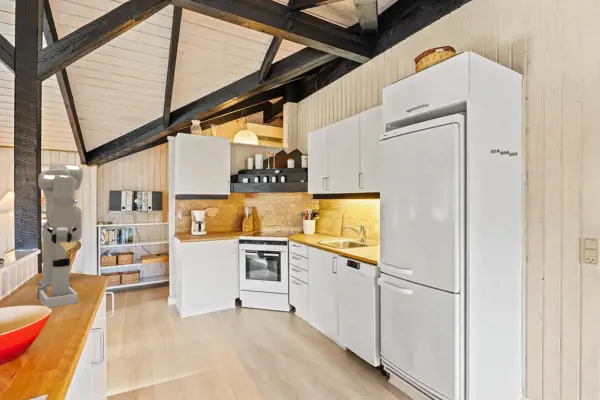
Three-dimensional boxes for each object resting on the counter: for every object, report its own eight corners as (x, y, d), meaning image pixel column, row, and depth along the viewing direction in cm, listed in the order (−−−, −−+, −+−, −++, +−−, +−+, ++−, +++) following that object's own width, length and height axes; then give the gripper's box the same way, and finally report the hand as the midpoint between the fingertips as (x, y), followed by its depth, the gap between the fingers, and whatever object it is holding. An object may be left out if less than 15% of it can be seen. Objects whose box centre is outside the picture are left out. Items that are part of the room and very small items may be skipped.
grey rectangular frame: (38, 298, 141) (38, 288, 141) (71, 292, 150) (71, 284, 150) (45, 308, 128) (45, 298, 128) (80, 302, 138) (80, 292, 138)
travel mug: (58, 305, 133) (60, 260, 133) (46, 303, 134) (48, 258, 135) (72, 300, 139) (74, 257, 139) (60, 299, 141) (62, 256, 141)
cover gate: (36, 299, 140) (37, 288, 140) (43, 292, 149) (44, 281, 149) (40, 298, 140) (41, 287, 140) (47, 292, 150) (47, 281, 150)
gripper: (83, 202, 146) (81, 240, 145) (37, 201, 133) (35, 243, 133) (87, 203, 140) (85, 242, 140) (40, 202, 128) (38, 245, 128)
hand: (61, 242), depth 137 cm, fingers open, 4 cm apart
